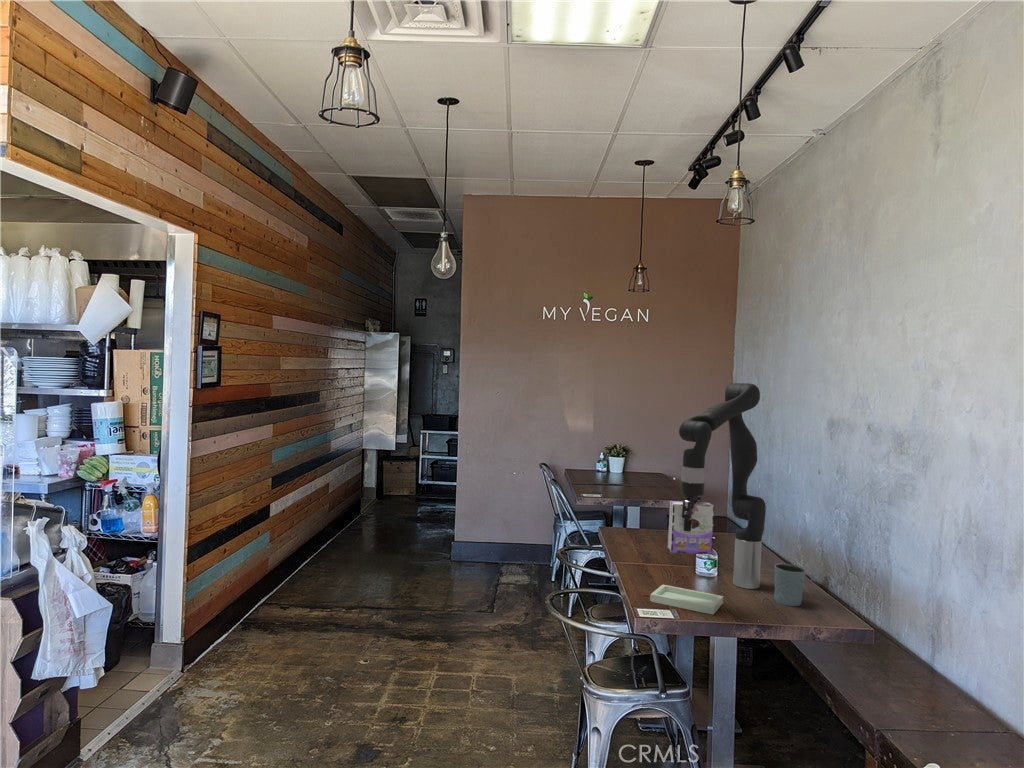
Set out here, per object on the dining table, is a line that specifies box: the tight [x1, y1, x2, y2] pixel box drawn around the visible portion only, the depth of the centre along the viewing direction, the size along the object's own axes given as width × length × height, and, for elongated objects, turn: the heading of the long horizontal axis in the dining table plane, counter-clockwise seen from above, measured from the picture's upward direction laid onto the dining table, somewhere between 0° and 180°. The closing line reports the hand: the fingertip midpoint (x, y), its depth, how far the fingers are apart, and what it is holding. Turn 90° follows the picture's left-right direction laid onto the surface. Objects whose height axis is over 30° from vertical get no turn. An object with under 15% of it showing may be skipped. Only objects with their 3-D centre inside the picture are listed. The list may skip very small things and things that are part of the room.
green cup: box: [773, 563, 807, 607], centre depth 232 cm, size 10×10×12 cm
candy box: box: [667, 500, 715, 555], centre depth 226 cm, size 14×6×16 cm, turn 88°
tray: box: [649, 584, 724, 615], centre depth 226 cm, size 14×21×2 cm, turn 61°
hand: (690, 528), depth 226 cm, fingers closed on candy box, 8 cm apart
